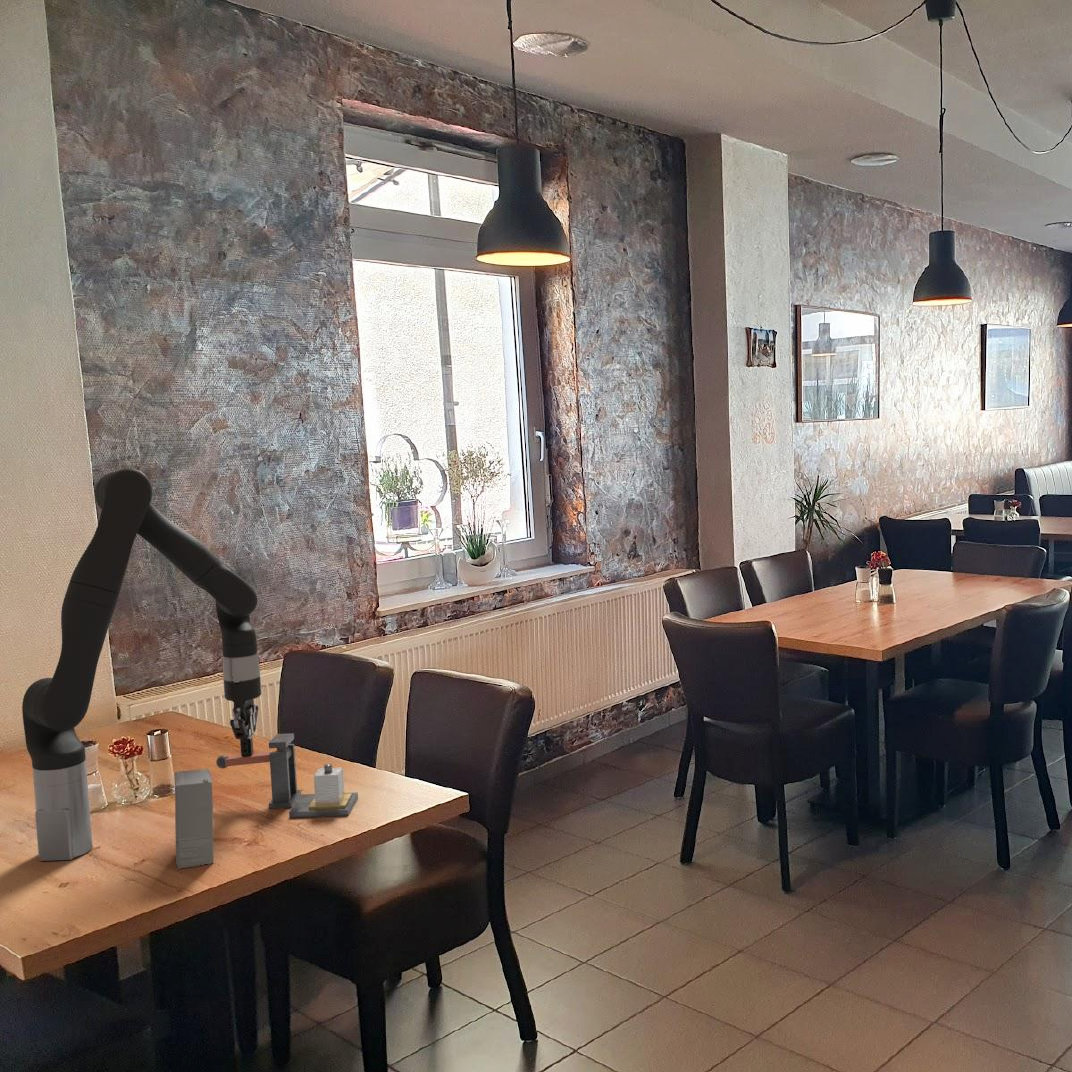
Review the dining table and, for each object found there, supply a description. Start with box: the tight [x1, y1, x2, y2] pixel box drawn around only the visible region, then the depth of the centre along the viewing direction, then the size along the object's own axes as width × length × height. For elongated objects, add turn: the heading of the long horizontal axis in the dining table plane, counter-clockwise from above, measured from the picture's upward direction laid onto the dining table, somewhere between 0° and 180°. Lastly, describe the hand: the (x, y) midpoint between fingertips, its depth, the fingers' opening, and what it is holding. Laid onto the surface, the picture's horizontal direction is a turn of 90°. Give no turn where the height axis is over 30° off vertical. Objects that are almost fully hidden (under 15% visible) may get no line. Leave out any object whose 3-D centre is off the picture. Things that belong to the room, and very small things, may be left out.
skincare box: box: [173, 768, 214, 870], centre depth 191 cm, size 8×7×16 cm
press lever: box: [215, 747, 291, 770], centre depth 222 cm, size 4×16×3 cm, turn 89°
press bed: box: [268, 732, 359, 819], centre depth 219 cm, size 15×18×14 cm
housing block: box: [313, 763, 345, 804], centre depth 216 cm, size 5×5×7 cm
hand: (247, 755), depth 222 cm, fingers closed
